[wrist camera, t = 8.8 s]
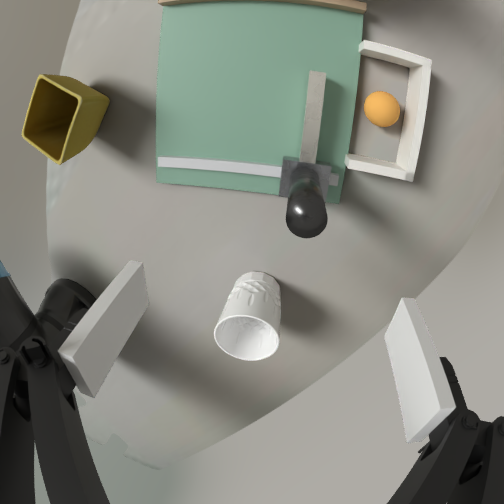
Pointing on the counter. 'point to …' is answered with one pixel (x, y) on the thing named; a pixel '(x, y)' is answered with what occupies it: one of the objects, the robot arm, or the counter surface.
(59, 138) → the flower pot
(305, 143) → the black lever handle
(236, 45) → the pitch
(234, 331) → the white cup
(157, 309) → the counter surface
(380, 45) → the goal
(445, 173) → the counter surface
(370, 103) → the ball
